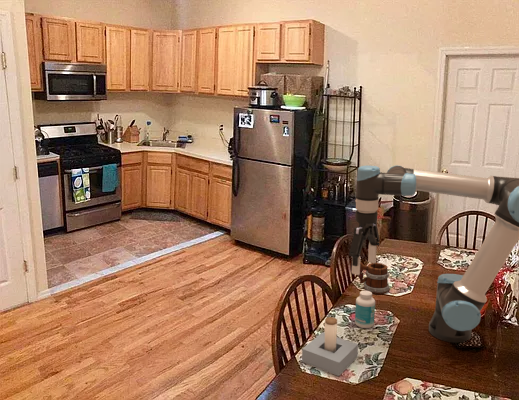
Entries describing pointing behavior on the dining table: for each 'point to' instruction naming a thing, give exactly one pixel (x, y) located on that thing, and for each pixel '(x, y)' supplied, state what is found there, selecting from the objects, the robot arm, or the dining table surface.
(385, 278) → the mug
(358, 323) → the pill bottle
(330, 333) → the peg
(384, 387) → the dining table surface
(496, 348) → the dining table surface
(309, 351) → the socket
